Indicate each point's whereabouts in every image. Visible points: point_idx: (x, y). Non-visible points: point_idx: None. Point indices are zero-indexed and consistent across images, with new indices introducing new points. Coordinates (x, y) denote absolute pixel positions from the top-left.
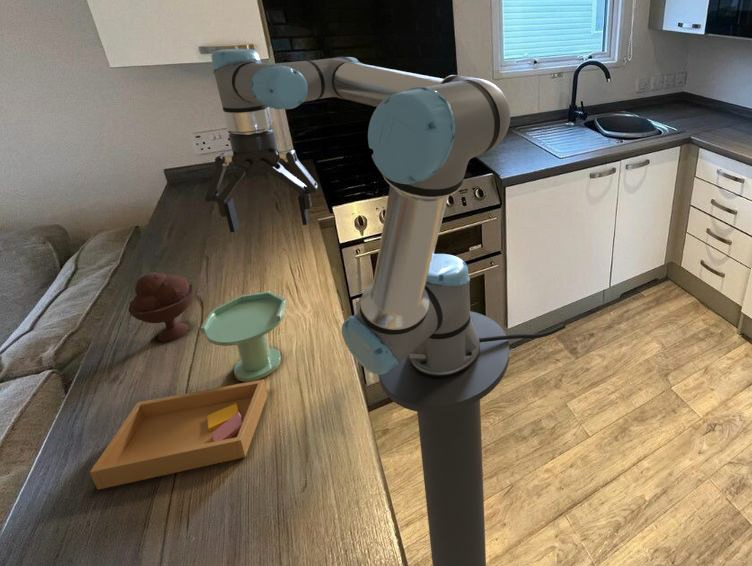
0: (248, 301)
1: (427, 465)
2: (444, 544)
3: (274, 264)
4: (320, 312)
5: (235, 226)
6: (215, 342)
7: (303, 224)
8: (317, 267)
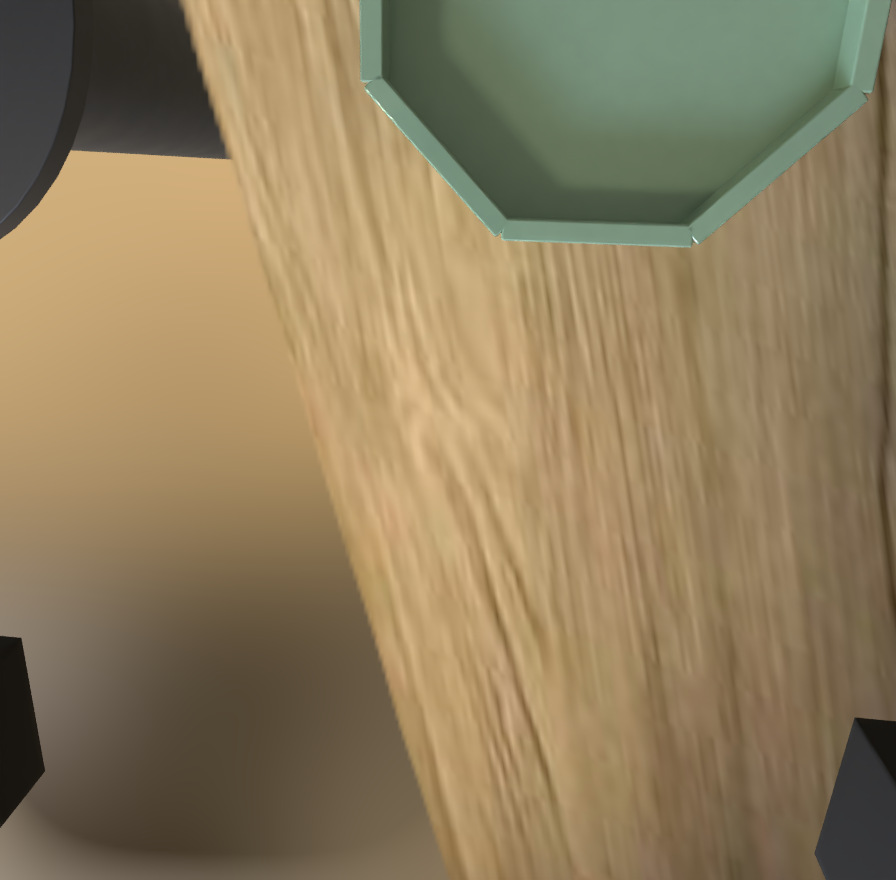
0: (636, 213)
1: (163, 2)
2: None
3: (623, 820)
4: (357, 385)
5: (861, 814)
6: None
7: (8, 643)
8: (427, 738)
